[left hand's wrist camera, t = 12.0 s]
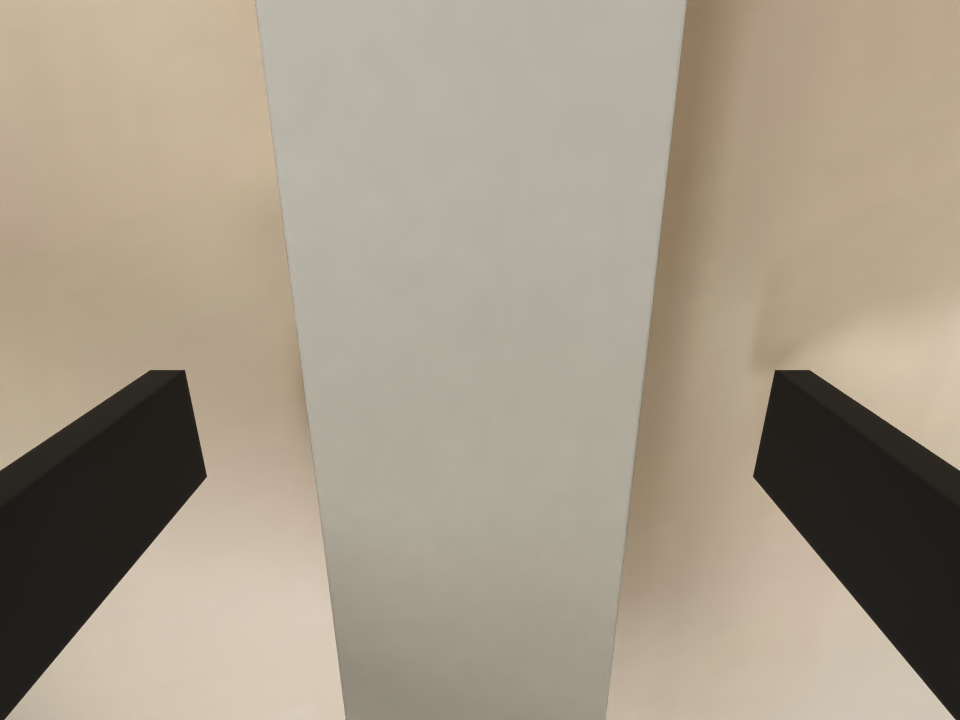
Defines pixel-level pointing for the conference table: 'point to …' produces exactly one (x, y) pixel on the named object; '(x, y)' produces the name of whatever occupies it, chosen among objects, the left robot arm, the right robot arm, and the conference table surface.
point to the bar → (473, 330)
